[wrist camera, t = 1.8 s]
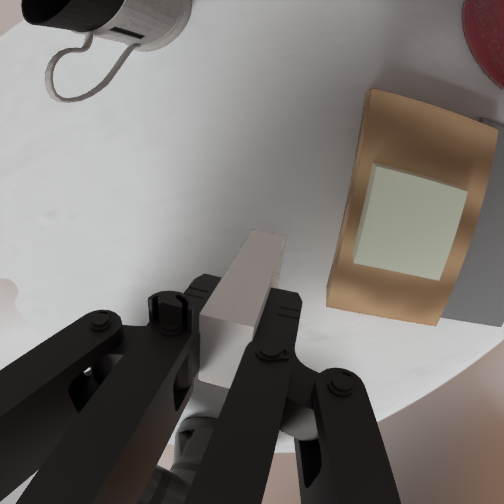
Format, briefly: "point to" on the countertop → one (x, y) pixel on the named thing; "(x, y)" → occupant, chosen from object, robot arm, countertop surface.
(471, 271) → the mat
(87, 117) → the countertop surface
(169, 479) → the robot arm
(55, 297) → the countertop surface
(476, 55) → the canister
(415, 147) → the plate
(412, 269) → the coaster
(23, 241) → the countertop surface
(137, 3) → the glass holder
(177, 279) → the countertop surface
